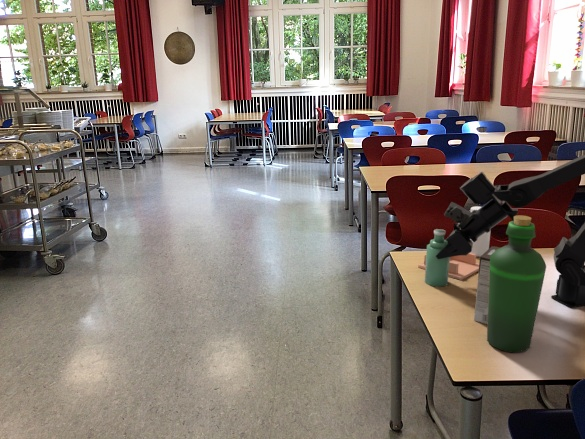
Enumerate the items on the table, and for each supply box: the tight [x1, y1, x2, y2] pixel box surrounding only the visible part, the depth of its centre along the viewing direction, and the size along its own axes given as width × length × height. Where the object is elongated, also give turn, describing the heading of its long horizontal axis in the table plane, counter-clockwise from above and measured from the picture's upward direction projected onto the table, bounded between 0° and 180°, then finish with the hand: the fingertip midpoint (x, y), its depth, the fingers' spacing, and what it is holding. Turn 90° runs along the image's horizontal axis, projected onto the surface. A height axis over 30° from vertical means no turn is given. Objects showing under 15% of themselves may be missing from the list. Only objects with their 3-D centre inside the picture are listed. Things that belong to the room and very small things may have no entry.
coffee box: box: [473, 245, 501, 325], centre depth 114 cm, size 9×6×16 cm
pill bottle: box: [469, 205, 492, 258], centre depth 157 cm, size 8×8×15 cm
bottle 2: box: [486, 214, 547, 353], centre depth 101 cm, size 11×11×28 cm
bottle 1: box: [424, 228, 450, 288], centre depth 135 cm, size 6×6×15 cm
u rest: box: [418, 253, 479, 281], centre depth 147 cm, size 14×14×4 cm
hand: (439, 252), depth 134 cm, fingers open, 9 cm apart
